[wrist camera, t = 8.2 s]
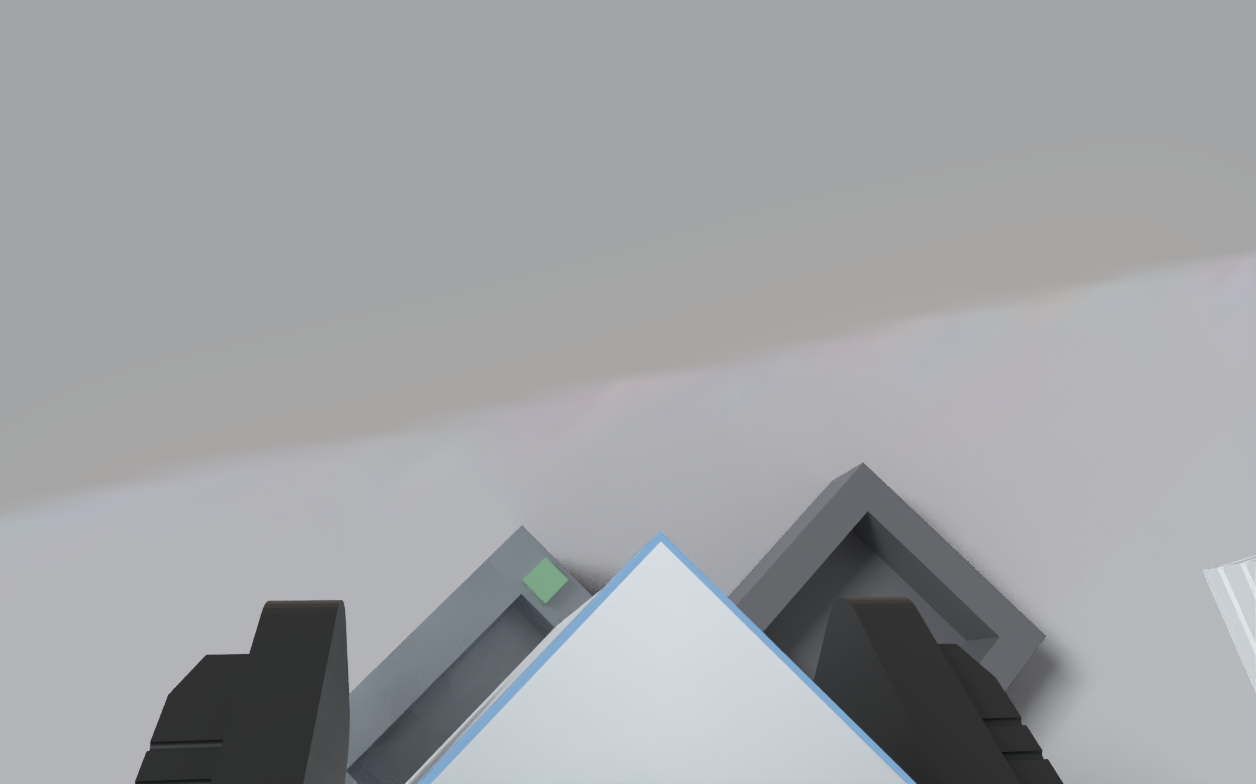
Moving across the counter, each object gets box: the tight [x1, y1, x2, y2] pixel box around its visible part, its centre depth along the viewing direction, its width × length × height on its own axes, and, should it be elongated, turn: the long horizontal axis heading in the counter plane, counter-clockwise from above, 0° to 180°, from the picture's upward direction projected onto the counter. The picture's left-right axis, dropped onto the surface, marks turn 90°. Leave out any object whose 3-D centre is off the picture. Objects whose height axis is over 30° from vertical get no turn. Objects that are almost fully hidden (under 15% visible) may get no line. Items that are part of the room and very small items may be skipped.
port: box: [345, 526, 593, 784], centre depth 25 cm, size 8×8×4 cm
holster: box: [728, 463, 1046, 691], centre depth 28 cm, size 7×7×2 cm
